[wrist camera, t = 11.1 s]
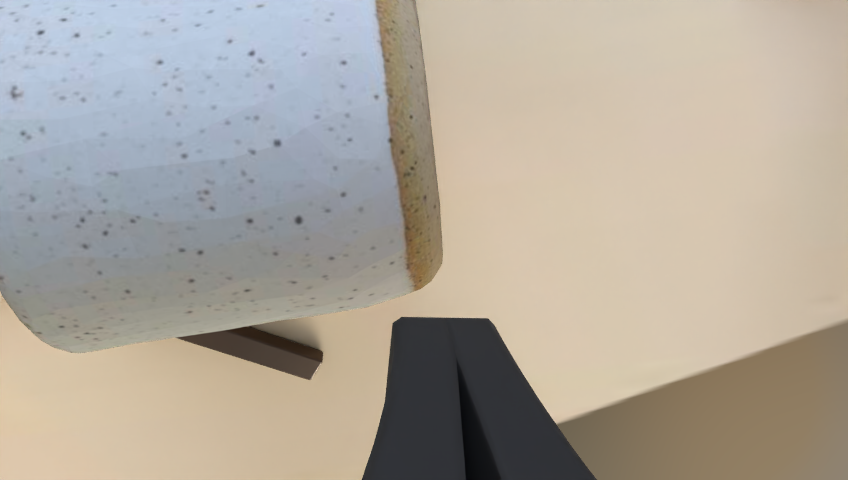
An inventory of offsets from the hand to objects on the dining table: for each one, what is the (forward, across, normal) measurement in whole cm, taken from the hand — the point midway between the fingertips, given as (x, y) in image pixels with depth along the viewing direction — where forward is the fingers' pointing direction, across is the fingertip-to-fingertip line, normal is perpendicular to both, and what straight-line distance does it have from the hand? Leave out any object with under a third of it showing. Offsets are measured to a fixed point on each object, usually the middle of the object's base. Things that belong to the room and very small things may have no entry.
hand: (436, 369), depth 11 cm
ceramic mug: (+11, +4, -1) cm, 12 cm away
